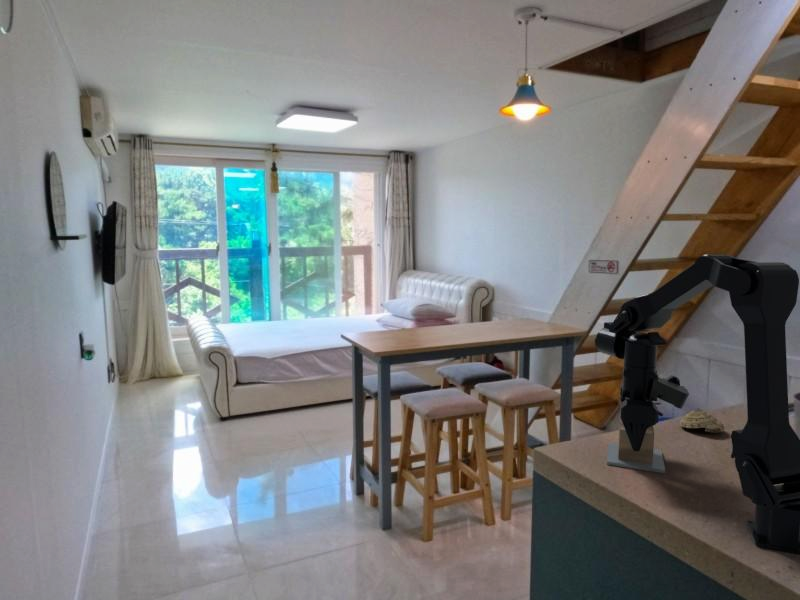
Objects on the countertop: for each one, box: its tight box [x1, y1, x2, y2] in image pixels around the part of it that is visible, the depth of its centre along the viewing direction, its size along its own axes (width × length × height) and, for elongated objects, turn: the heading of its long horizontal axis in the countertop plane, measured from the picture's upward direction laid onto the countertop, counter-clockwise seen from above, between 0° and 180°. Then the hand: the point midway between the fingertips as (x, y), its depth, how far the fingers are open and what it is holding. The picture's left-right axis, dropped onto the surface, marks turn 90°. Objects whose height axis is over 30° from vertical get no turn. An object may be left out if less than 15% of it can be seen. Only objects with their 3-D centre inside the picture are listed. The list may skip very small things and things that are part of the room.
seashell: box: [679, 408, 726, 434], centre depth 118 cm, size 8×6×8 cm
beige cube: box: [618, 419, 655, 464], centre depth 102 cm, size 6×6×6 cm
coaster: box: [606, 442, 666, 474], centre depth 103 cm, size 10×10×1 cm
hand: (635, 442), depth 102 cm, fingers open, 9 cm apart
